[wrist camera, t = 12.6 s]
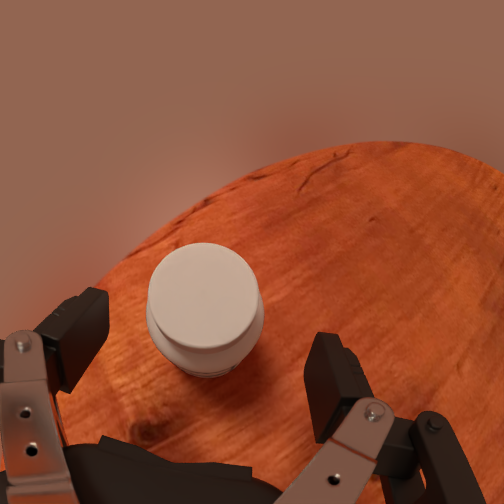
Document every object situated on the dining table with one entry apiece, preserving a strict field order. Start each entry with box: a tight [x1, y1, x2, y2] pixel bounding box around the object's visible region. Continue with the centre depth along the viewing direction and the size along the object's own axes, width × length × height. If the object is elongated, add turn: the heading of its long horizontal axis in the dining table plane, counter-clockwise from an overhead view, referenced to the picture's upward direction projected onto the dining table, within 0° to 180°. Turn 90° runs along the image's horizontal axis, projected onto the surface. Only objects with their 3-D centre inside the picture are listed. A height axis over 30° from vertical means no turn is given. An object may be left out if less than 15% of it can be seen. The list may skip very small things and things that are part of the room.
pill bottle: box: [146, 243, 264, 378], centre depth 15 cm, size 5×5×9 cm
